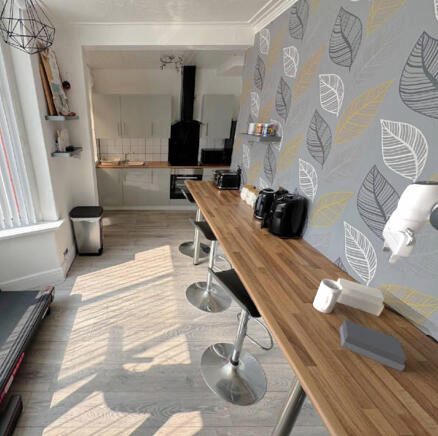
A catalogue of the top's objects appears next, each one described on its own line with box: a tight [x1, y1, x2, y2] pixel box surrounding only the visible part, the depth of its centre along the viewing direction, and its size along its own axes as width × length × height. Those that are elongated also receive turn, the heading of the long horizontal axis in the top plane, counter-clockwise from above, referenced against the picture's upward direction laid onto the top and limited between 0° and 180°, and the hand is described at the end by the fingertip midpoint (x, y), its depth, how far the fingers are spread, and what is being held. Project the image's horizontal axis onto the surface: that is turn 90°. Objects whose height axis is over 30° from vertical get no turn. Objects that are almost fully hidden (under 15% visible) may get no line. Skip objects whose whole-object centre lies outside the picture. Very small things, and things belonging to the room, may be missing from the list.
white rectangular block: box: [336, 280, 385, 317], centre depth 100 cm, size 15×9×5 cm, turn 57°
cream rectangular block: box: [336, 277, 385, 304], centre depth 98 cm, size 14×6×2 cm, turn 57°
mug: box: [312, 278, 343, 314], centre depth 93 cm, size 10×7×12 cm, turn 148°
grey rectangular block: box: [339, 319, 407, 372], centre depth 79 cm, size 15×9×5 cm, turn 57°
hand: (388, 256), depth 91 cm, fingers open, 8 cm apart
